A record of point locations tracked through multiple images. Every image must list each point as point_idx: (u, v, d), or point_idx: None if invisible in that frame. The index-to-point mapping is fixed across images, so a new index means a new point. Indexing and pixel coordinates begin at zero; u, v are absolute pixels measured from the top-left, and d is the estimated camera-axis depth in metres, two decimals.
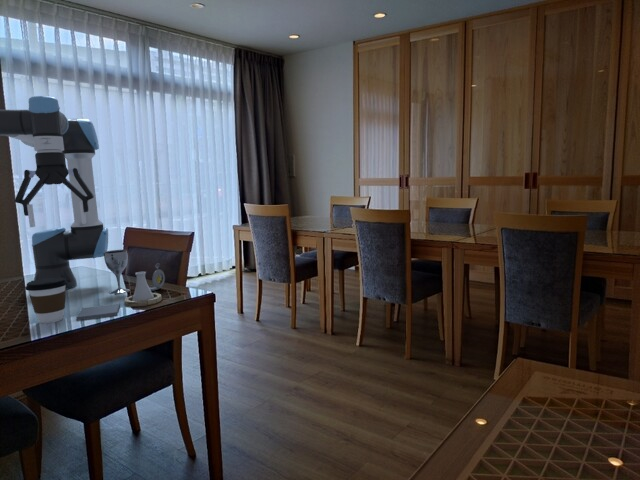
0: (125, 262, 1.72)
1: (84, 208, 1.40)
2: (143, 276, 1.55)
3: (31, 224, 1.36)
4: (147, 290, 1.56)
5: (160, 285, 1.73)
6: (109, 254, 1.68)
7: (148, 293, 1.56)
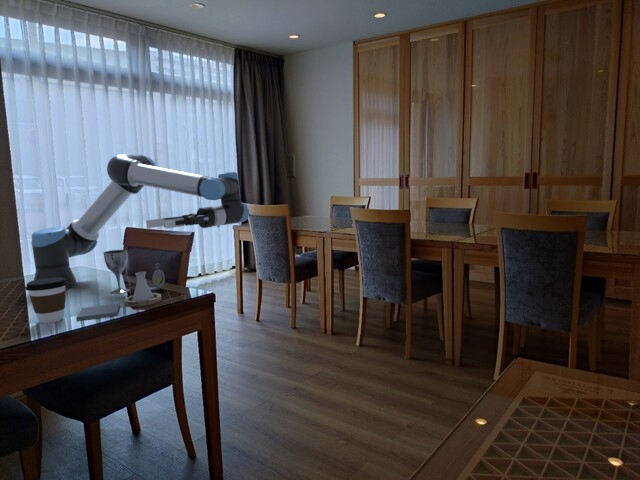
0: (125, 262, 1.72)
1: None
2: (143, 276, 1.55)
3: None
4: (147, 290, 1.56)
5: (160, 285, 1.73)
6: (109, 254, 1.68)
7: (148, 293, 1.56)
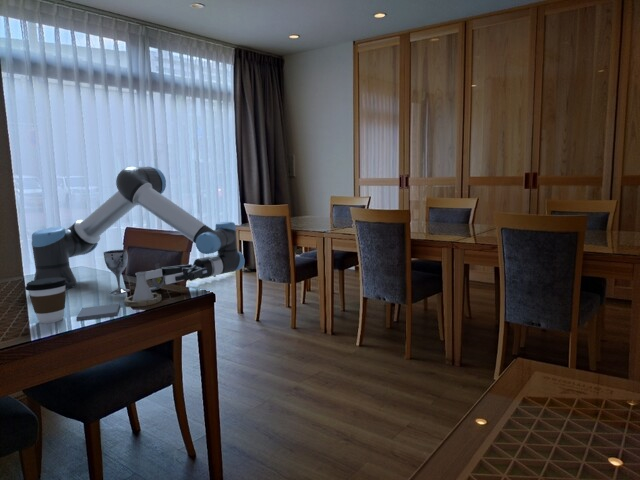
0: (125, 262, 1.72)
1: None
2: (143, 276, 1.55)
3: None
4: (147, 290, 1.56)
5: (160, 285, 1.73)
6: (109, 254, 1.68)
7: (148, 293, 1.56)
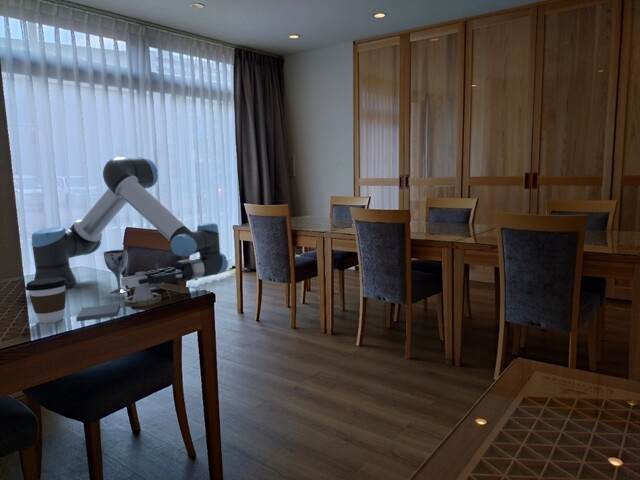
0: (125, 262, 1.72)
1: None
2: None
3: None
4: (147, 290, 1.56)
5: (160, 285, 1.73)
6: (109, 254, 1.68)
7: (148, 293, 1.56)
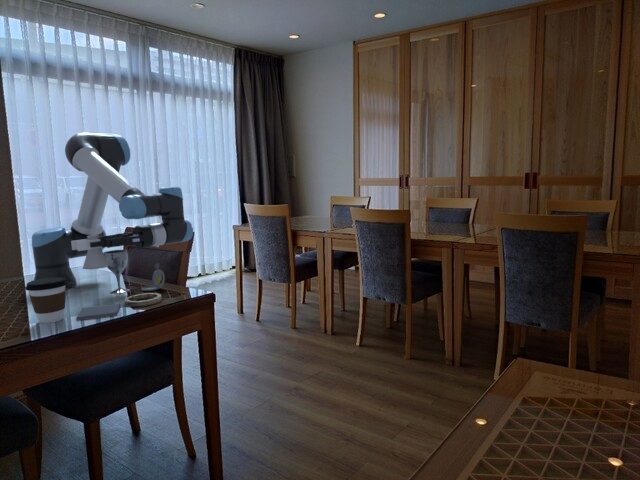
0: (125, 262, 1.72)
1: None
2: None
3: None
4: (100, 254, 1.43)
5: (160, 285, 1.73)
6: (109, 254, 1.68)
7: (101, 258, 1.43)
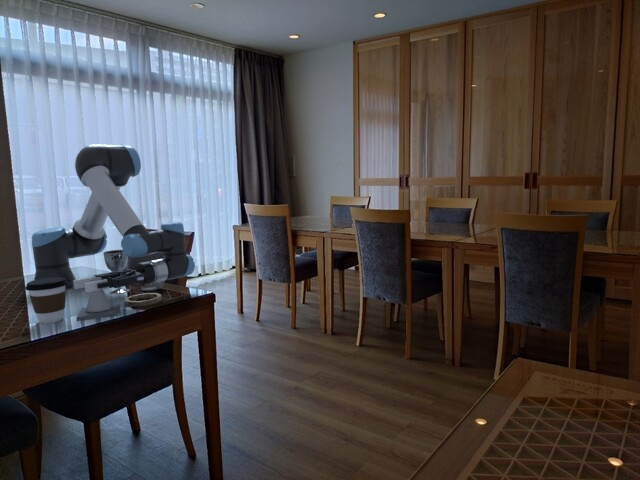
0: (125, 262, 1.72)
1: None
2: None
3: None
4: (103, 297, 1.44)
5: (160, 285, 1.73)
6: (109, 254, 1.68)
7: (104, 300, 1.44)
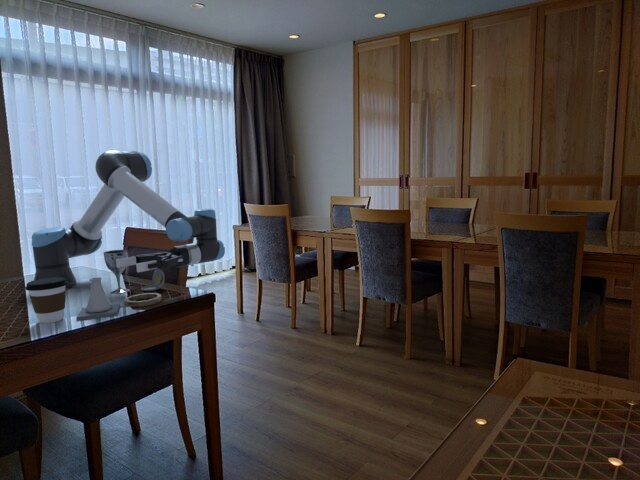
0: None
1: None
2: (98, 282, 1.44)
3: None
4: (103, 297, 1.44)
5: (160, 285, 1.73)
6: (109, 254, 1.68)
7: (104, 300, 1.44)
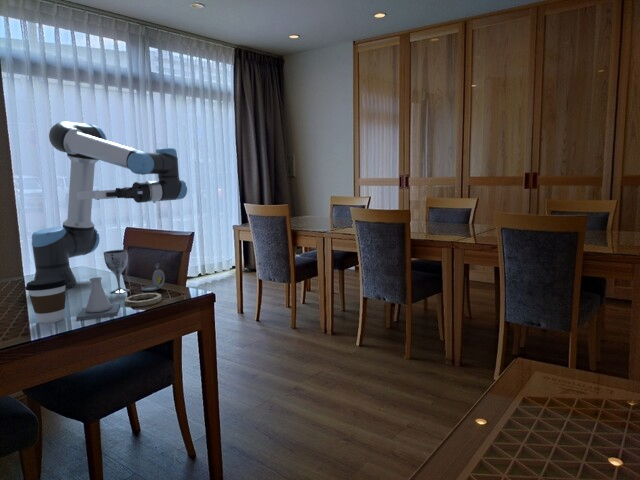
0: (125, 262, 1.72)
1: None
2: (98, 282, 1.44)
3: (98, 199, 1.53)
4: (103, 297, 1.44)
5: (160, 285, 1.73)
6: (109, 254, 1.68)
7: (104, 300, 1.44)
